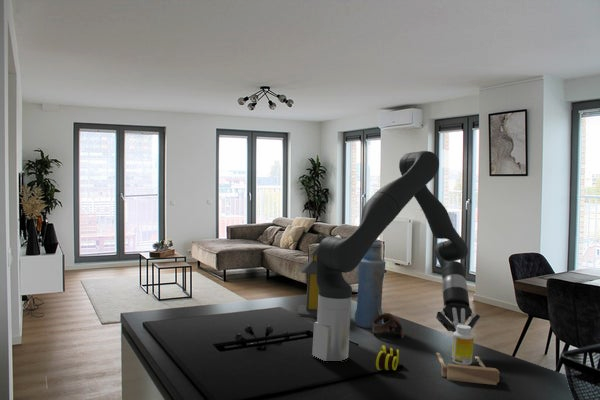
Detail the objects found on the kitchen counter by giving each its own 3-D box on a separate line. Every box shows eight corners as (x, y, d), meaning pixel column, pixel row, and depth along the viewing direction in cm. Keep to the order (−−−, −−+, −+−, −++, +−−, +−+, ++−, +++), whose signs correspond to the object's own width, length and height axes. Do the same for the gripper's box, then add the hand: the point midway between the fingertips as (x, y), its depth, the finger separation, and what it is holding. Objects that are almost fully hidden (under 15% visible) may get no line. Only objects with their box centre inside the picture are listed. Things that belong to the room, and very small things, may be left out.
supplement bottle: (476, 365, 142) (478, 328, 141) (458, 366, 140) (461, 329, 140) (464, 358, 147) (466, 323, 147) (447, 359, 145) (449, 323, 145)
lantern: (336, 318, 186) (340, 236, 185) (297, 316, 186) (302, 234, 185) (334, 309, 200) (338, 233, 199) (298, 307, 200) (302, 231, 199)
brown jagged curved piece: (406, 343, 162) (396, 321, 160) (378, 352, 164) (368, 330, 162) (404, 324, 173) (394, 303, 172) (378, 333, 175) (368, 312, 174)
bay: (432, 353, 151) (433, 341, 151) (481, 357, 149) (482, 345, 149) (443, 379, 129) (444, 365, 129) (501, 385, 127) (501, 371, 127)
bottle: (378, 330, 172) (384, 242, 171) (350, 326, 176) (355, 239, 175) (385, 324, 181) (390, 240, 180) (358, 320, 185) (363, 237, 184)
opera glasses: (395, 375, 131) (396, 356, 131) (375, 372, 132) (376, 353, 132) (399, 363, 140) (400, 345, 140) (380, 360, 142) (381, 342, 141)
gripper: (435, 284, 156) (438, 335, 145) (479, 287, 155) (487, 339, 143) (431, 297, 162) (435, 348, 150) (474, 300, 160) (481, 352, 148)
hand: (460, 343), depth 147 cm, fingers closed
